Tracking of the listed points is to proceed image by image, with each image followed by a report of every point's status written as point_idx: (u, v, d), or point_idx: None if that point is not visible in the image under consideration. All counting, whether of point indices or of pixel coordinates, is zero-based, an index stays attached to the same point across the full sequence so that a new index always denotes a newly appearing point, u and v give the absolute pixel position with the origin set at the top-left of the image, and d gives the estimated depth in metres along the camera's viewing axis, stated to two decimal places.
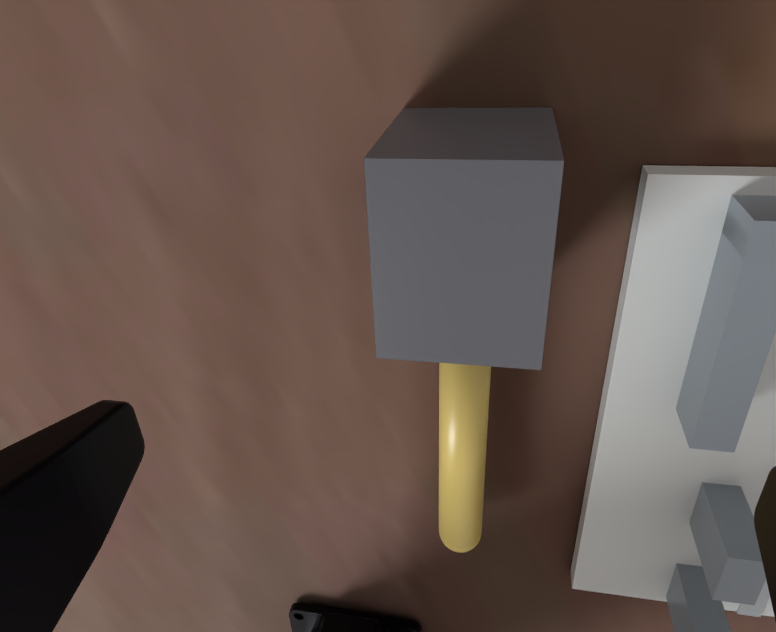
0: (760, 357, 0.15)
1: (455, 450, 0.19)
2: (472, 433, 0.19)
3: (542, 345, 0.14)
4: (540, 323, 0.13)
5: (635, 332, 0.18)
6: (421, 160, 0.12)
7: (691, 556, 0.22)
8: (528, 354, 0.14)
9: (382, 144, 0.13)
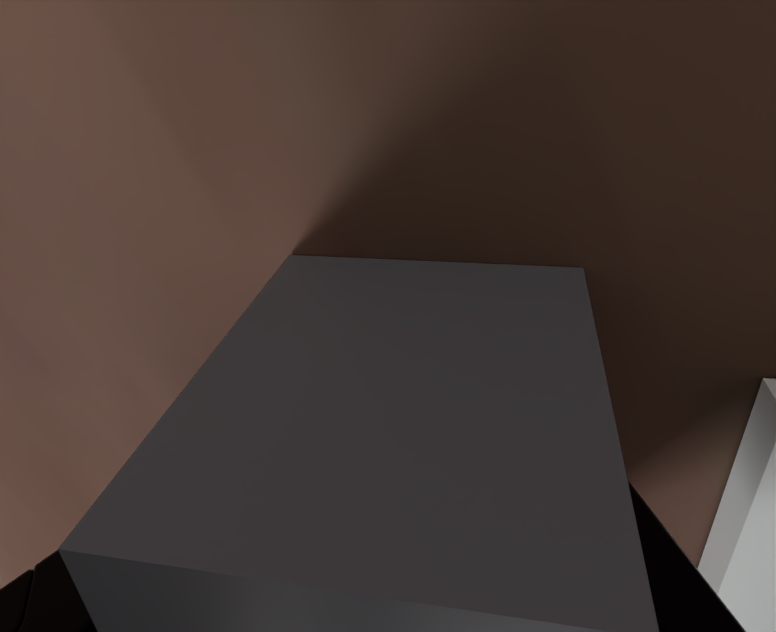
0: None
1: None
2: None
3: None
4: None
5: None
6: (216, 576, 0.04)
7: None
8: None
9: (160, 444, 0.05)
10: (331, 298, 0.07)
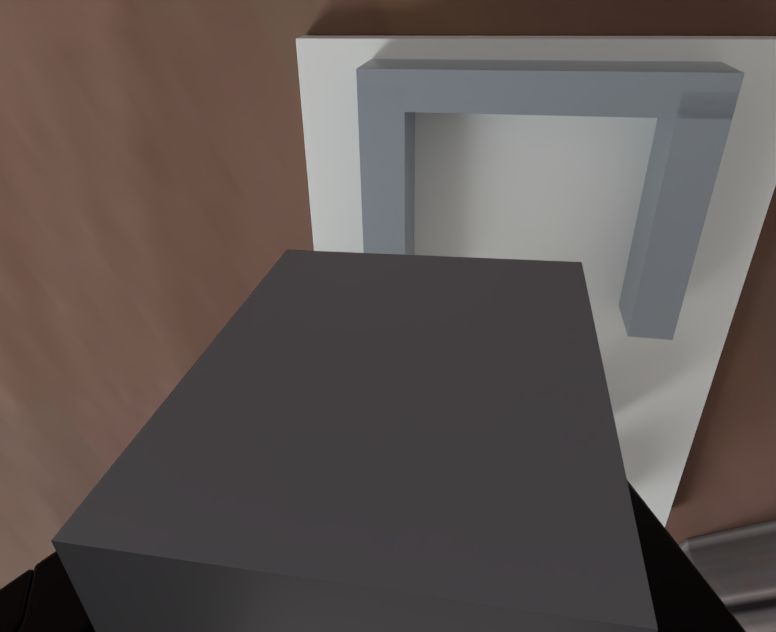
0: (400, 214, 0.16)
1: None
2: None
3: None
4: None
5: (324, 206, 0.19)
6: (210, 567, 0.04)
7: None
8: None
9: (155, 436, 0.05)
10: (328, 292, 0.07)
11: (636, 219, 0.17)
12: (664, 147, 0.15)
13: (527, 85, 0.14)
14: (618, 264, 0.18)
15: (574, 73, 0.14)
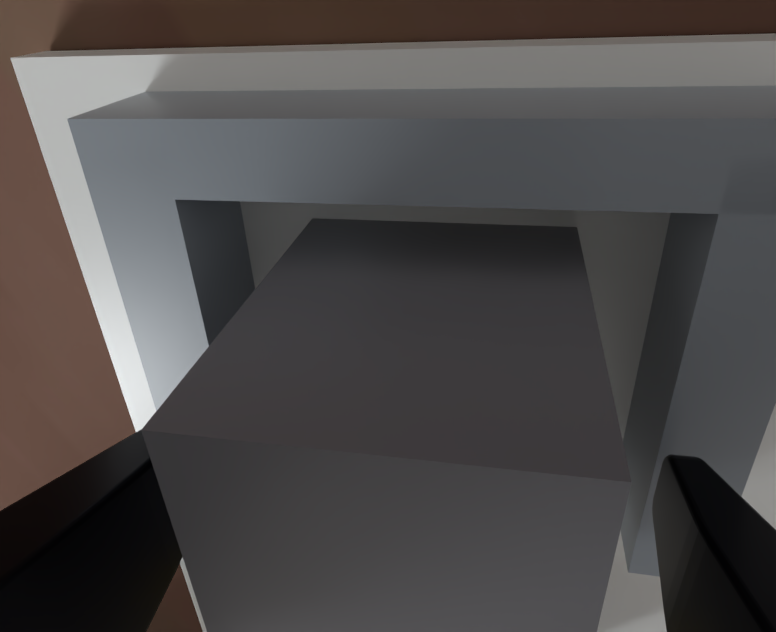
0: None
1: None
2: None
3: None
4: None
5: (122, 330, 0.11)
6: (273, 447, 0.05)
7: None
8: None
9: (215, 359, 0.06)
10: (353, 251, 0.08)
11: (639, 362, 0.09)
12: (691, 261, 0.07)
13: (401, 148, 0.07)
14: None
15: (495, 123, 0.06)
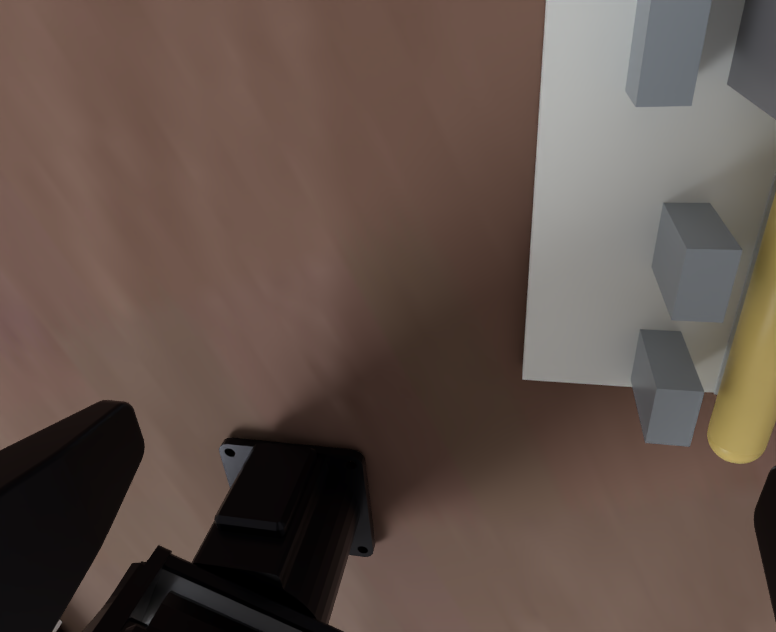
0: None
1: None
2: None
3: None
4: None
5: None
6: None
7: (656, 317, 0.18)
8: None
9: None
10: None
11: None
12: None
13: None
14: None
15: None
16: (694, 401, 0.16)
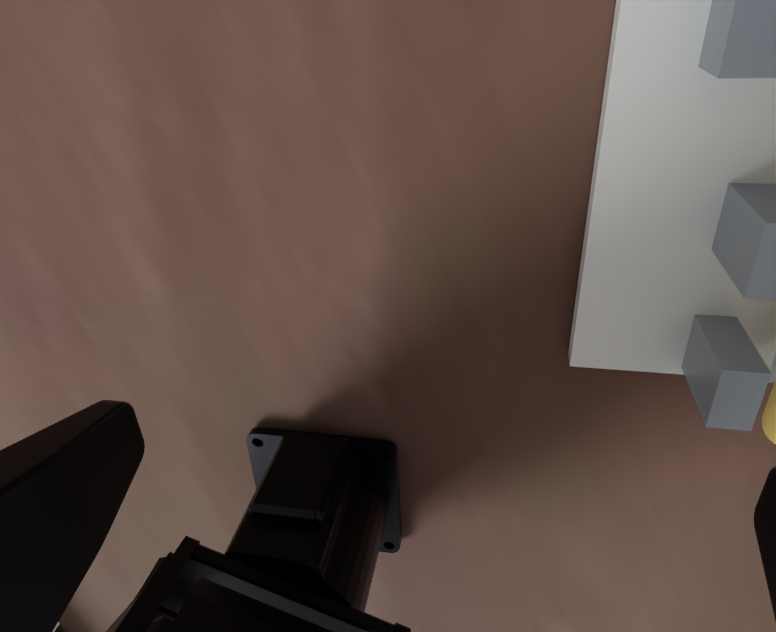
0: None
1: None
2: None
3: None
4: None
5: None
6: None
7: (713, 301, 0.18)
8: None
9: None
10: None
11: None
12: None
13: None
14: None
15: None
16: (760, 383, 0.16)
